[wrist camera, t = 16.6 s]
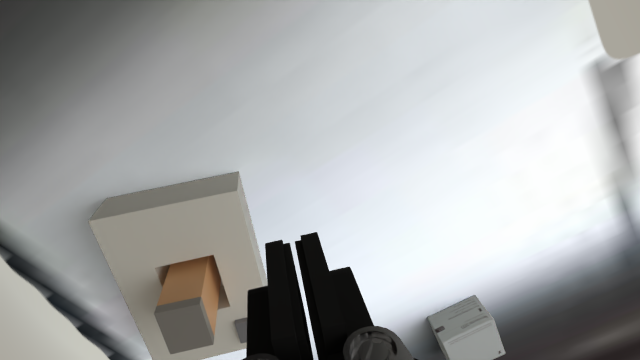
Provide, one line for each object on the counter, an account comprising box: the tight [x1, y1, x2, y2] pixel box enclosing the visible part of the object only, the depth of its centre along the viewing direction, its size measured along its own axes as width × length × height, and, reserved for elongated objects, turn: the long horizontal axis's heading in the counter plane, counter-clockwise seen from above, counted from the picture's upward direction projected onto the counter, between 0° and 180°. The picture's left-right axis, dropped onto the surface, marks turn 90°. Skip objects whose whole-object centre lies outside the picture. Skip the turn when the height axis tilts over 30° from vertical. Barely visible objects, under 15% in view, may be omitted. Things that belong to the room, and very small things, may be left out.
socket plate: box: [88, 172, 268, 360], centre depth 42 cm, size 20×14×6 cm
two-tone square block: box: [154, 255, 221, 354], centre depth 39 cm, size 5×4×10 cm
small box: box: [427, 295, 505, 360], centre depth 53 cm, size 8×8×5 cm
